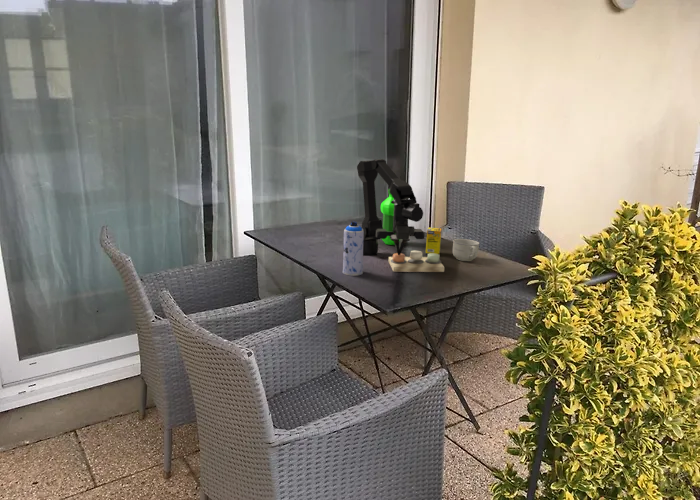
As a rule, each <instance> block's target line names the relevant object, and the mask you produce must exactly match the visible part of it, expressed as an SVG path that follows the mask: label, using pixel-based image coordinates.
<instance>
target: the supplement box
mask: <svg viewBox="0 0 700 500" xmlns="http://www.w3.org/2000/svg"><path fill="white" fill-rule="evenodd" d="M425 239H426V241H425V255H426V256H427V255H428V254H430V253H435V254H439V255H440V252H441V243H442V242H441V241H442V228H439V227H427V230H426V238H425Z"/></svg>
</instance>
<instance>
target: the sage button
mask: <svg viewBox="0 0 700 500" xmlns="http://www.w3.org/2000/svg"><path fill="white" fill-rule="evenodd" d="M426 257H427V261H429V262H439V260H440V253H439V254H435V253H430V254H428V255H426Z"/></svg>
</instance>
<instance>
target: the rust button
mask: <svg viewBox="0 0 700 500" xmlns="http://www.w3.org/2000/svg"><path fill="white" fill-rule="evenodd" d="M392 257H393V261H394V262H404V261H405V257H406V255H405V253H402V252H401V254H400V255H398V254H397V252H396V253H395V252H394V253H393V254H392Z"/></svg>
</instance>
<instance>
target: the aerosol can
mask: <svg viewBox="0 0 700 500" xmlns="http://www.w3.org/2000/svg"><path fill="white" fill-rule="evenodd" d="M363 238H364V231H363V229H362V226H360V225H359V224H358V222H357V221H355V220H351V222H350V224H349V225H347V226H346V227H345V228H344V230H343V256H342V257H343V258H342V259H343V261H342V274H343V275H346V276H352V277H353V276H356V277H357V276H360V275H363V273H364V271H363V267H364V265H363V262H364V255H363Z"/></svg>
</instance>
